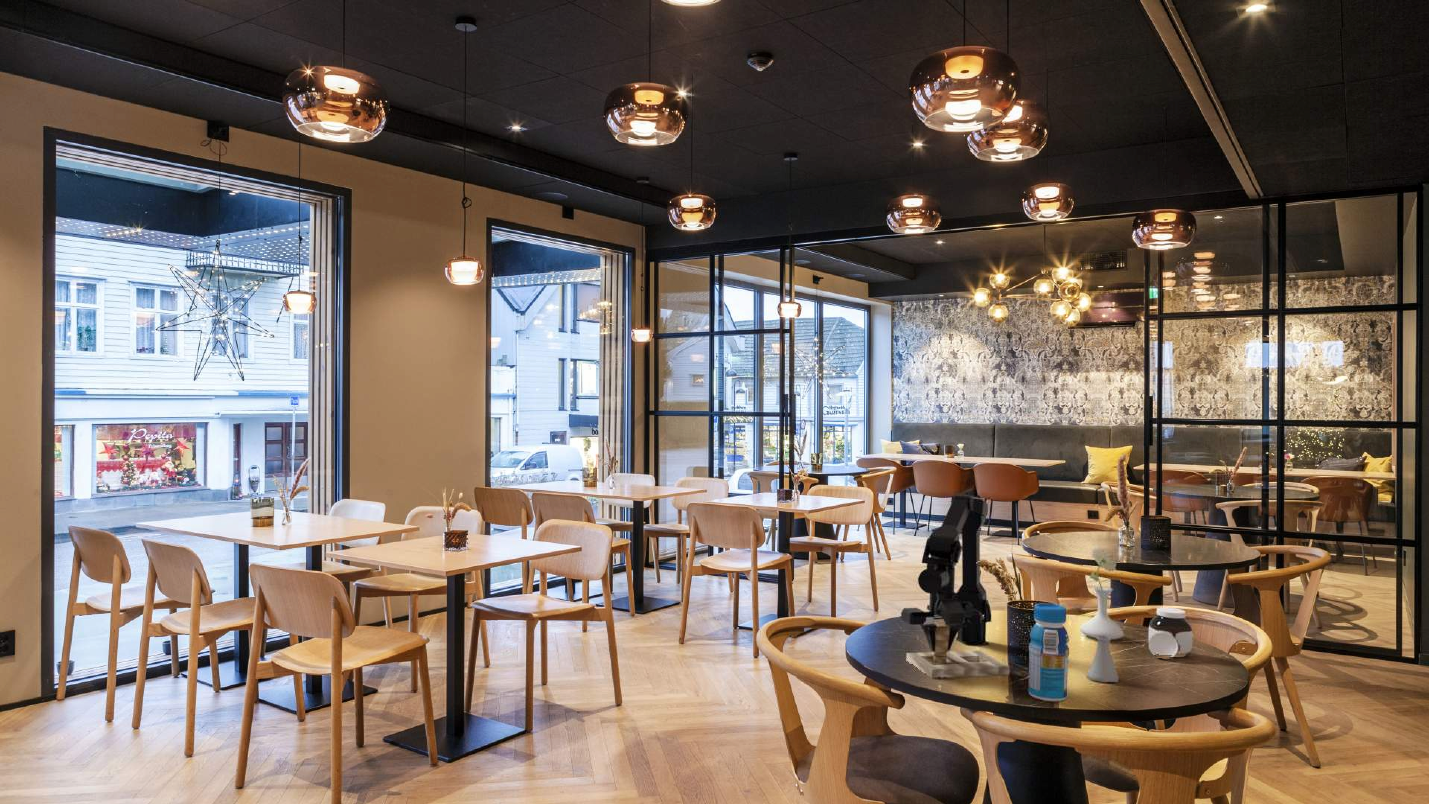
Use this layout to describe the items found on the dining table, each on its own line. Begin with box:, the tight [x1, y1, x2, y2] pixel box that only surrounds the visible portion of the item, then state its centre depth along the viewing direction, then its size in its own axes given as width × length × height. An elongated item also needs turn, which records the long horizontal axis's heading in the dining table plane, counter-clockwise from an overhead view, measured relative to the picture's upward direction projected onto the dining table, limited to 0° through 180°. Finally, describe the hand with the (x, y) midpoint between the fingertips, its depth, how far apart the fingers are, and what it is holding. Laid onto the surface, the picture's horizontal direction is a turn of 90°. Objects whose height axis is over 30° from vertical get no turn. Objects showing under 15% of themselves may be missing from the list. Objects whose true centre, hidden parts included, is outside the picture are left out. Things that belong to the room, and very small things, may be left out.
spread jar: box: [1147, 606, 1194, 657], centre depth 243 cm, size 12×11×12 cm
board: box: [906, 650, 1010, 679], centre depth 226 cm, size 20×14×2 cm
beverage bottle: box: [1027, 602, 1070, 702], centre depth 206 cm, size 8×8×20 cm
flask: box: [1086, 636, 1120, 684], centre depth 220 cm, size 7×7×10 cm
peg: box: [933, 623, 950, 663], centre depth 225 cm, size 4×4×9 cm
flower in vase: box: [1079, 546, 1125, 640], centre depth 261 cm, size 13×11×25 cm
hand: (940, 650), depth 225 cm, fingers closed on peg, 4 cm apart
